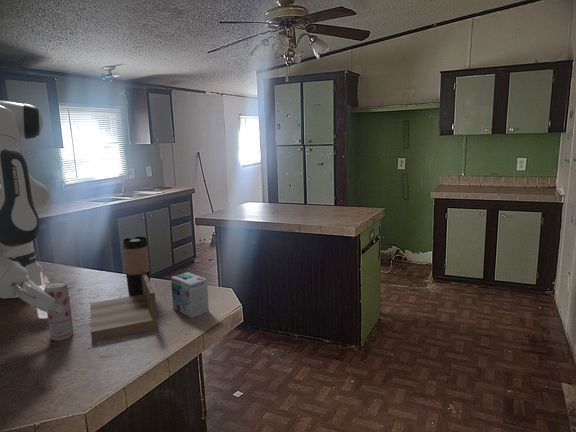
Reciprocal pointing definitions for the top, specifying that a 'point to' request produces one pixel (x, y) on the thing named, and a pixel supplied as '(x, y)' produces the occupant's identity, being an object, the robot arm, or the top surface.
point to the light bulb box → (190, 294)
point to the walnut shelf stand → (124, 314)
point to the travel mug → (136, 263)
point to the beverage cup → (40, 313)
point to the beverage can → (60, 321)
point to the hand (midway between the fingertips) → (55, 305)
